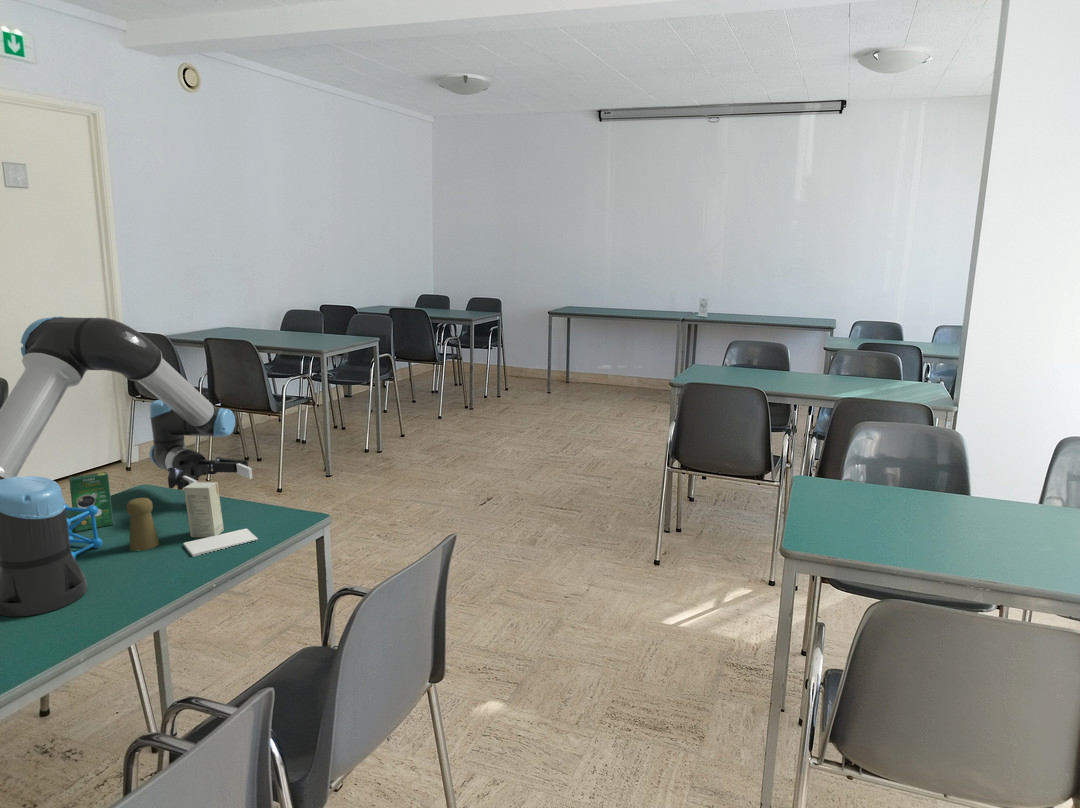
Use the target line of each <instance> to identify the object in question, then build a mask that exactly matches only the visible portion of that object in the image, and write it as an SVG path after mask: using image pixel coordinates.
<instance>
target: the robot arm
mask: <svg viewBox="0 0 1080 808" xmlns="http://www.w3.org/2000/svg"><path fill="white" fill-rule="evenodd" d="M20 344H21V345H22V346H21V347H20V352H21V356H22V359H21V362H22V364H23V367H24V371H23V372H22V374H21V376H20V377H19V378H18V380H17V381H16V383H15V385H14V386H13V388H12V390H11V392H10V393H9V395H8V396H7V398H6V399H5V401H4V402H3V404H2V406H1V407H0V615H1V616H4V617H14V618H15V617H17V618H18V617H28V616H35V615H41V614H44V613H49V612H51V611H52V612H53V611H55V610H58V609H61V608H64V607H67V606H69V605H70V604H72V603H74V602H76V601H78V600H79V599H81V598H82V597H83V596H84V595H85V594H86V592H87V591H88V584H87V578H86V576H85V574H84V572H83V570H82V569H81V567H80V566H79V564H78V561H77V560H76V558H75V559H74V557H73V555H72V553H71V551H72V548H71V545H70V540H69V532H68V524H67V518H68V517H67V516H68V515H67V512H66V509H65V504H66V501H65V498H64V496H63V492H62V488H61V486H60V484H58V482H57V481H54V480H53V479H50V478H47V477H43V476H34V475H26V476H19V473H20V472H21V469H22V468H23V466H24V464H25V463H26V461H27V459H28V458H29V456H30V454H31V453H32V450H33V449H34V447H35V445H36V443H37V442H38V440H39V438H40V437H41V435H42V433H43V431H44V429H45V427H46V426H47V424H48V422H49V421H50V419H51V417H52V416H53V414H54V412H55V411H56V409H57V407H58V406H59V404H60V402H61V400H62V398H63V397H64V395H65V393H66V391H67V390H68V388H70V387H75V386H77V385H79V384H80V383H81V381H82V380H83V377H84V376H85V374H86V372H87V371H108V372H114V373H117V374H120V375H122V376H124V378H126V379H127V380H129V381H132V382H134V381H135V382H138V383H139V384H140V385H142V387H144V388H145V389H146V390H147V391H149V392H150V393H151V394H152V395H154V396H155V397H156V398H157V399H156V400H153V401H152V402H151V403H150V404H149V409H150V411H149V412H150V413H149V414H150V417H149V418H150V422H151V430H152V432H151V433H152V438H153V445H152V446H151V448H150V451H149V458H150V461H151V462H152V463H153V464H154V465H155V466H156V467H157V468H159V469H161V470H166V471H168V472H167V473H168V475H167V476H168V477H167V483H168V488H169V489H174V488H175V486H177V490H178V491H182V490H184V487H186V486H188V485H190V484H191V483H193V482H199V481H198V480H197V479H199V478H200V477H202V476H206V475H216V474H217V473H236V474H237V475H239V476H242V477H244V478H246V479H249V480H252V479H253V469H252V467H250V466H249V461H248V459H237V458H236V459H235V458H224V457H220V456H218V457H217V456H216V458H215V459H209V460H208V459H207V458H206V457H205V456H204V455H203V454H202V453H200V452H198V451H196V450H194V449H191V448H188V447H186V445H185V436H186V437H189V436H190V437H192V436H193V437H207V438H208V437H212V438H221V437H223V438H226V437H229V436H230V435H232V433H233V432H234V430H235V426H236V417H235V414H234V412H233V411H232V410H231V409H228V408H223V407H220V408H218V407H216V406H215V405H214V404H213V403H211V402H210V400H208V399H207V398H206V397H205V396H204V395H203V394H202V393H201V392H199V390H197V388H196V387H194V386H193V385H192V384H191V383H190V382H189V381H187V379H186V378H184V377H183V375H181V374H180V373H179V372H178V371H177V370H176V369H175V368H174V367H173V366H171V364H170V363H168V361H166V360H165V359H164V358H163V354H162V351H161V349H160V348H159V347H158V346H156V344H154V343H153V342H152V341H151V340H150V339H149V338H147V337H146V336H145V335H143V334H142V333H140V332H139V331H137V330H136V329H134V328H132V327H130V326H129V325H127V324H125V323H123V322H120V321H117V320H115V319H112V318H108V317H107V318H106V317H65V316H51V317H43V318H40V319H37V320H35V321H33V322H32V323H30V324H29V325H28V326H27V327H26V329H25V330H24V332H23V333H22V336H21V339H20Z"/></svg>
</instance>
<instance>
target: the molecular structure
mask: <svg viewBox="0 0 1080 808" xmlns="http://www.w3.org/2000/svg"><path fill="white" fill-rule="evenodd" d="M65 509H66V513H67V512H68V511H69V512H70V511H71V512H73V511H82V512H84V513H82V514H79V515H77V516H75V517H70V518H68V517H67V524H68V532H69V540H70V546H71V545H72V544H73V543H74V544H88V545H86V546H84V547H82V548H80V549H78V550H76V551H72V550H71V553H72V555H73V557H74V559H75V560H76V557H77V555H79V554H82V553H83V552H85V551H87V550H89V549H91V548H94V549H99V548H101V547H102V545H103V544H104V543H103V539H102V538H100V537H99V536H98V529H97V528H96V522H95V515H96V514H97V513H98V508H97V507H96V506H94V505H91V506H89V507H87V509H86V508H73V507H72V506H71V507H69V505H68V504H67V503H65ZM88 516H91V520H92V528H93V529H92V534H93V538H89V537H87V536H84V535H82V534H78V533H76V532H75V533H74V532H73V529H75V526H77V525H78V524H79V523H80V522H81V521H83V520H84V519H85V518H86V517H88ZM79 518H80V519H79ZM76 519H79V520H77V521H76V522H75V523H74V520H76ZM72 522H73V524H72ZM74 538H76V539H74Z"/></svg>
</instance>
